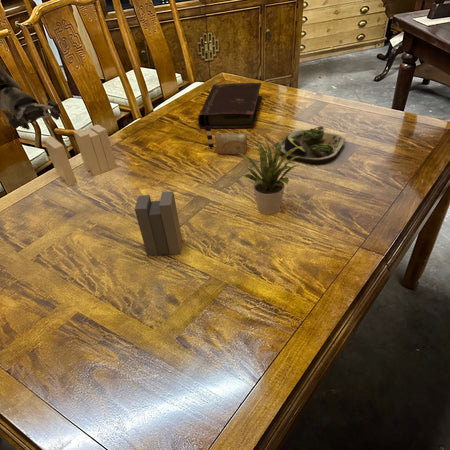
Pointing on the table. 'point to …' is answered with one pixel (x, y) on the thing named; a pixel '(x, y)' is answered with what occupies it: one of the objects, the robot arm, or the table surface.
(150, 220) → the grey books
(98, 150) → the beige books
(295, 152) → the salad plate
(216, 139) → the cuneiform tablet
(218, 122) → the diary
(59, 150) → the beige book
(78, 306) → the table surface
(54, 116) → the robot arm
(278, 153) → the house plant
